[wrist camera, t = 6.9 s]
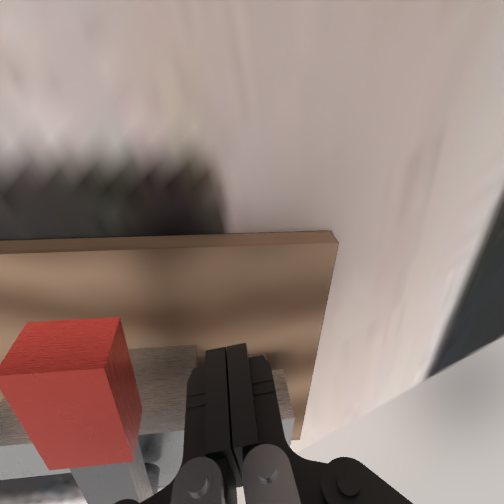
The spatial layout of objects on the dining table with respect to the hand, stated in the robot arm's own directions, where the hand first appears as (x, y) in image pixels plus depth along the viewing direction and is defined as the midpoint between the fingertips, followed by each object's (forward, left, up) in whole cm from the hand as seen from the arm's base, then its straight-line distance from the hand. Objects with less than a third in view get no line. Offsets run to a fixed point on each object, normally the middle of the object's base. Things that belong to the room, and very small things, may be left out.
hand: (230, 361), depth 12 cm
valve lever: (+5, -5, -2) cm, 7 cm away
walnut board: (+11, -5, -10) cm, 16 cm away
